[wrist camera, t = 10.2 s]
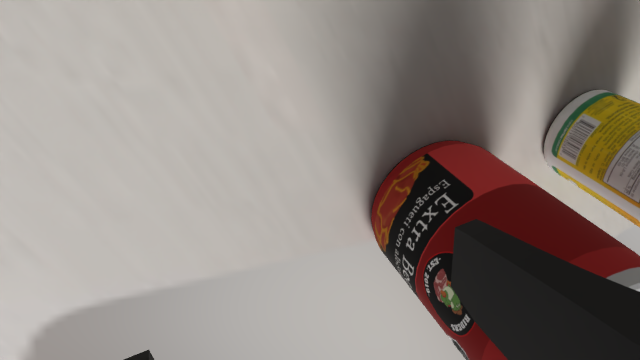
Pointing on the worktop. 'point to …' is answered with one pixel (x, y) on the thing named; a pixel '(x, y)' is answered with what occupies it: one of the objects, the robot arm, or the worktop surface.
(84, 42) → the worktop surface
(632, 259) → the canned food
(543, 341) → the robot arm
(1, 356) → the worktop surface
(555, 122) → the supplement bottle
